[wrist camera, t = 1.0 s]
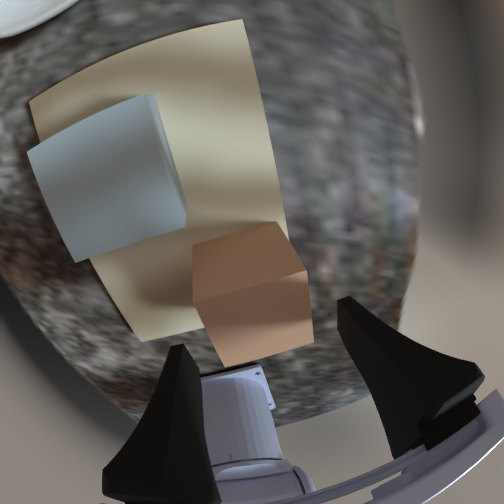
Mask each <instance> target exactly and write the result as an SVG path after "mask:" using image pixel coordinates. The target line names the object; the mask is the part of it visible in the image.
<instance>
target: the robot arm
mask: <svg viewBox="0 0 504 504" xmlns="http://www.w3.org/2000/svg"><path fill="white" fill-rule="evenodd" d="M337 329H338V332H339V334H340V336H341V339H342V341H343V343H344V345H345V348H346V349H347V351H348V353H349V355H350V356H351V358H352V360H353V361H354V363H355V365H356V367H357V368H358V370H359V372H360V373H361V375H362V377H363V379H364V380H365V382H366V384H367V386H368V388H369V390H370V393H371V395H372V397H373V400H374V402H375V405H376V407H377V410H378V412H379V415H380V418H381V421H382V424H383V426H384V429H385V432H386V436H387V439H388V442H389V445H390V449H391V453H392V456H393V458H394V460H393V461H391V462H389V463H387V464H385V465H382V466H380V467H378V468H376V469H374V470H371V471H369V472H367V473H364V474H362V475H360V476H357V477H355V478H352V479H349V480H347V481H344V482H341V483H338V484H336V485H333V486H330V487H327V488H324V489H320V490H317V491H316V489H315V487H314V484H313V482H312V480H311V478H310V476H309V475H308V474H307V473H306V472H305V471H304V470H302V469H301V468H299V467H298V466H291V462H290V459H285V460H283V456H282V453H281V449H280V446H279V442H278V438H277V434H276V430H275V427H274V423H273V419H272V415H271V411H270V410H271V409H274V408H275V403H274V401H273V398H272V395H271V392H270V390H269V387H268V384H267V381H266V378H265V376H264V373H263V370H262V367H261V365H252V366H248V367H244V368H240V369H236V370H232V371H228V372H224V373H219V374H215V375H210V376H206V377H201V378H200V372H199V368H198V366H197V364H196V363H195V361H194V360H193V358H192V357H191V355H190V353H189V352H188V350H187V348H186V347H185V345H184V344H179V345H174V346H171V347H170V350H169V353H168V356H167V359H166V361H165V364H164V367H163V370H162V373H161V375H160V378H159V381H158V383H157V386H156V388H155V391H154V393H153V395H152V397H151V400H150V402H149V404H148V406H147V408H146V410H145V412H144V414H143V416H142V418H141V420H140V421H139V423H138V425H137V426H136V428H135V430H134V431H133V433H132V434H131V436H130V437H129V439H128V440H127V442H126V443H125V444H124V446H123V447H122V448H121V450H120V451H119V452H118V454H117V455H116V456H115V457H114V458H113V459H112V460H111V461H110V462H109V464H108V465H107V466H106V467H105V468H104V469H103V473H102V493H103V494H104V495H105V496H107V497H110V498H113V499H116V500H119V501H122V502H125V504H320V503H324V502H327V501H330V500H333V499H336V498H339V497H342V496H345V495H347V494H350V493H353V492H355V491H358V490H360V489H363V488H365V487H367V486H370V485H372V484H375V483H376V482H379V481H381V480H383V479H385V478H388V477H390V476H391V475H394V474H396V473H398V472H400V471H402V470H403V471H402V472H401V475H400V476H398V477H396V478H394V479H392V480H390V481H388V482H386V483H384V484H382V485H380V486H379V487H377V488H375V489H373V490H372V491H371V493H372V495H373V500H371V501H368V502H365V503H363V504H424V503H425V502H427V501H429V500H430V499H432V498H433V497H434V496H436V495H437V494H439V493H440V492H442V491H443V490H445V489H446V488H447V487H449V486H450V485H451V484H453V483H454V482H455V481H457V480H458V479H459V478H460V477H462V476H463V475H464V474H465V473H467V472H468V471H469V470H470V469H471V468H473V467H474V466H475V465H476V464H477V463H478V462H480V461H481V460H482V459H483V458H484V457H485V456H486V455H487V454H488V453H489V452H490V451H491V450H492V449H494V447H496V446H497V445H498V444H499V443H500V442H501V441H502V440H503V439H504V399H503V398H502V396H501V395H500V393H499V392H498V390H497V389H496V390H494V391H493V392H492V393H490V394H489V395H488V396H487V397H486V398H485V399H483V400H482V401H481V402H480V403H479V404H478V405H476V404H475V402H474V401H475V400H476V397H475V396H474V392H475V391H476V390H477V389H478V387H479V386H480V385H481V384H482V382H483V381H484V378H485V376H484V374H483V373H482V372H481V370H480V369H479V367H478V366H477V365H476V364H475V363H474V362H470V361H465V360H461V359H457V358H454V357H451V356H448V355H445V354H442V353H439V352H437V351H435V350H432V349H430V348H427V347H425V346H423V345H421V344H419V343H417V342H415V341H413V340H411V339H409V338H408V337H406V336H404V335H402V334H401V333H399V332H398V331H396V330H395V329H393V328H392V327H390V326H389V325H387V324H386V323H384V322H383V321H382V320H380V319H379V318H377V317H376V316H375V315H373V314H372V313H371V312H369V311H368V310H367V309H366V308H364V307H363V306H362V305H361V304H359V303H358V302H357V301H356V300H354V299H353V298H352V297H350V296H348V297H345V298H342V299H339V300H337ZM100 504H104V503H100Z"/></svg>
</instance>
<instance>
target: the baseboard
mask: <svg viewBox="0 0 504 504" xmlns="http://www.w3.org/2000/svg"><path fill="white" fill-rule="evenodd" d="M29 104H30V108H31V112H32V116H33V119H34V123H35V127H36V130H37V134H38V137H39V140H40V144H38V145H37V146H35V147H34V148H32V149H31V150H29V151H27V154H28V157H29V160H30V163H31V166H32V169H33V172H34V174H35V177H36V180H37V182H38V185H39V187H40V190H41V192H42V195H43V197H44V200H45V202H46V204H47V207H48V209H49V211H50V213H51V216H52V218H53V220H54V222H55V224H56V226H57V228H58V231H59V233H60V235H61V237H62V239H63V241H64V243H65V245H66V246H67V248H68V250H69V252H70V254H71V256H72V258H73V260H74V261H75V263H77V262H79V261H82V260H85V259H88V258H89V259H90V261H91V263H92V264H93V266H94V268H95V270H96V272H97V273H98V275H99V277H100V279H101V280H102V282H103V284H104V286H105V287H106V289H107V291H108V292H109V294H110V296H111V297H112V299H113V301H114V302H115V304H116V305H117V307H118V308H119V310H120V312H121V313H122V315H123V316H124V318H125V319H126V321H127V322H128V324H129V325H130V327H131V328H132V330H133V331H134V333H135V334H136V335H137V337H138V338H139V340H140V341H141V342H143V341H148V340H152V339H157V338H162V337H166V336H170V335H175V334H179V333H183V332H188V331H192V330H196V329H200V328H204V325H203V323H202V321H201V319H200V317H199V315H198V312H197V310H196V308H195V306H194V304H193V287H192V257H193V245H195V244H198V243H202V242H205V241H209V240H212V239H216V238H219V237H223V236H227V235H230V234H234V233H237V232H241V231H244V230H248V229H252V228H255V227H259V226H263V225H266V224H270V223H274V222H278V224H279V226H280V227H281V229H282V230H283V232H284V234H285V235H286V237H287V239H288V240H289V238H288V232H287V226H286V220H285V215H284V209H283V203H282V198H281V192H280V187H279V182H278V176H277V171H276V166H275V161H274V156H273V151H272V146H271V141H270V136H269V131H268V126H267V122H266V117H265V112H264V108H263V103H262V99H261V94H260V90H259V85H258V81H257V77H256V72H255V68H254V64H253V60H252V56H251V52H250V48H249V44H248V40H247V36H246V32H245V28H244V24H243V20H242V19H240V20H234V21H228V22H222V23H217V24H212V25H207V26H203V27H198V28H194V29H190V30H186V31H183V32H179V33H175V34H172V35H168V36H165V37H162V38H159V39H156V40H153V41H150V42H147V43H144V44H141V45H138V46H136V47H133V48H130V49H128V50H125V51H123V52H120V53H118V54H116V55H113V56H111V57H109V58H106V59H104V60H102V61H100V62H98V63H96V64H93V65H91V66H89V67H87V68H85V69H83V70H81V71H79V72H78V73H76V74H74V75H72V76H70V77H68V78H67V79H65V80H63V81H61V82H60V83H58V84H56V85H54V86H53V87H51V88H50V89H48V90H46V91H45V92H43V93H42V94H40V95H38V96H37V97H35V98H34V99H32V100H31V101H30V102H29Z"/></svg>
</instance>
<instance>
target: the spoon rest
mask: <svg viewBox="0 0 504 504" xmlns="http://www.w3.org/2000/svg"><path fill="white" fill-rule="evenodd" d="M78 1H79V0H0V38H6V37H11V36H14V35H17V34H20V33H22V32H25V31H27V30H29V29H31V28H34V27H36V26H38V25H40V24H42V23H44V22H46V21H48V20H49V19H51V18H53V17H55V16H56V15H58V14H60V13H61V12H63V11H64V10H66V9H68V8H69V7H71V6H72V5H74V4H75V3H76V2H78Z"/></svg>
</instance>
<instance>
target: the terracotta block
mask: <svg viewBox="0 0 504 504" xmlns="http://www.w3.org/2000/svg"><path fill="white" fill-rule="evenodd" d="M192 287H193V304H194V306H195V308H196V310H197V312H198V315H199V317H200V319H201V321H202V323H203V325H204V327H205V329H206V331H207V333H208V335H209V337H210V339H211V341H212V343H213V345H214V347H215V349H216V351H217V353H218V355H219V357H220V359H221V361H222V363H223V365H224V367H229V366H233V365H237V364H241V363H245V362H249V361H252V360H256V359H260V358H263V357H267V356H270V355H274V354H277V353H281V352H284V351H287V350H291V349H294V348H297V347H300V346H303V345H307V344H310V343H313V342H314V338H313V326H312V316H311V306H310V296H309V287H308V278H307V270H306V268H305V267H304V265H303V263H302V262H301V260H300V258H299V257H298V255H297V253H296V252H295V250H294V248H293V247H292V245H291V243H290V242H289V240H288V239H287V237H286V235H285V234H284V232H283V230H282V229H281V227H280V226H279V224H278V222H274V223H270V224H266V225H263V226H259V227H255V228H252V229H248V230H244V231H241V232H237V233H234V234H230V235H227V236H223V237H219V238H216V239H212V240H209V241H205V242H202V243H198V244H195V245H193V257H192Z"/></svg>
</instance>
